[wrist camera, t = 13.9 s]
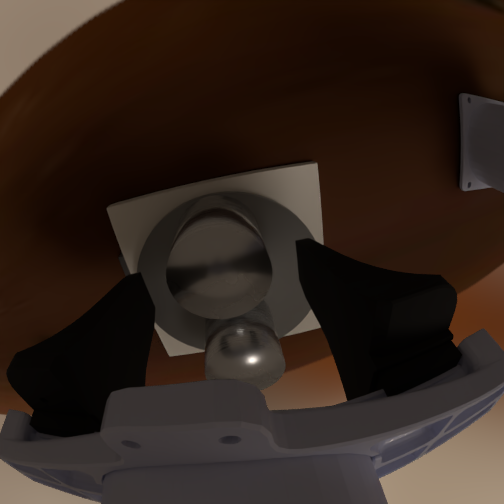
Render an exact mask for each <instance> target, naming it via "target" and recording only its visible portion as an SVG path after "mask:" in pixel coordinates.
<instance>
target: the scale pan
mask: <svg viewBox="0 0 504 504" xmlns="http://www.w3.org/2000/svg"><path fill="white" fill-rule="evenodd" d="M213 195H222V196H228V197H232V198H234V199H237V200H238V201H240V202H242V203H243V204H244V205H246V206H247V207H248V208H249V210H250V211H251V212H252V214H253V215H254V217H255V220H256V223H257V225H258V228H259V231H260V233H261V236H262V239H263V241H264V244H265V247H266V250H267V252H268V255H269V258H270V261H271V264H272V271H273V275H272V282H271V286H270V288H269V291H268V293H267V294H266V296H265V297H264V299H263V300H264V301H265V302H266V303H267V304H268V306H269V308H270V310H271V313H272V317H273V321H274V324H275V328H276V332H277V335H278V339H280V338H281V337H283V336H285V335H286V334H288V333H289V332H290V331H292V330H293V329H294V328H295V327H296V326H297V325H298V324H300V323H301V321H302V320H303V319H304V318H305V317H306V316H307V314H308V313H309V311H310V310H311V307H310V305H309V303H308V301H307V300H306V298H305V295H304V292H303V290H302V287H301V284H300V281H299V274H298V264H297V253H296V243H295V241H296V240H301V239H306V238H310V239H313V240H315V239H314V237H313V235H312V234H311V232H310V231H309V229H308V228H307V227H306V225H305V224H304V223H303V222H302V221H301V220H300V219H299V218H298V216H297V215H295V214H294V213H293V212H292V211H290V210H289V209H288V208H286V207H285V206H283V205H281V204H280V203H278V202H276V201H274V200H272V199H269V198H267V197H264V196H261V195H257V194H253V193H247V192H239V191H224V192H216V193H210V194H206V195H202V196H199V197H196V198H193V199H191V200H189V201H187V202H184V203H182V204H181V205H179V206H178V207H176V208H174V209H173V210H171V211H170V212H169V213H168V214H167V215H165V216H164V217H163V218H162V219H161V220H160V221H159V222H158V223H157V225H156V226H155V227H154V228H153V230H152V231H151V233H150V234H149V236H148V237H147V239H146V241H145V244H144V246H143V248H142V250H141V253H140V256H139V260H138V265H137V273H138V272H141V274H142V277H143V279H144V282H145V284H146V287H147V289H148V291H149V294H150V296H151V298H152V301H153V303H154V305H155V308H156V309H155V323H156V324H157V325H158V326H159V327H160V328H161V329H162V330H164V331H165V332H166V333H167V334H168V335H170V336H172V337H173V338H175V339H176V340H178V341H180V342H182V343H184V344H186V345H189V346H192V347H195V348H198V349H202V350H205V318H204V317H201V316H198V315H195V314H193V313H191V312H189V311H188V310H186V309H185V308H183V307H182V306H181V305H180V304H179V303H178V302H177V301H176V300H175V299H174V297H173V296H172V294H171V292H170V290H169V288H168V285H167V280H166V267H167V263H168V259H169V255H170V252H171V248H172V245H173V242H174V238H175V235H176V232H177V228H178V225H179V222H180V219H181V217H182V215H183V213H184V212H185V211H186V209H187V208H188V207H189V206H190V205H192V204H193V203H194V202H196V201H198V200H199V199H202V198H204V197H208V196H213Z"/></svg>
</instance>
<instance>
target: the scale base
mask: <svg viewBox="0 0 504 504" xmlns="http://www.w3.org/2000/svg"><path fill="white" fill-rule="evenodd" d="M224 191H239V192H247V193H253V194H257V195H261V196H264V197H267V198H269V199H272V200H274V201H276V202H278V203H280V204H281V205H283V206H285V207H286V208H288V209H289V210H290V211H292V212H293V213H294V214H295V215H297V216H298V218H299V219H300V220H301V221H302V222H303V223H304V224H305V225H306V227H307V228H308V229H309V231H310V232H311V234H312V235H313V237H314V239H315V241H317V242H319V243H320V244H322V245H323V229H322V213H321V200H320V188H319V177H318V166H317V163H316V162H314V161H311V162H304V163H297V164H290V165H284V166H278V167H272V168H266V169H260V170H254V171H249V172H244V173H238V174H233V175H228V176H223V177H218V178H214V179H209V180H204V181H200V182H195V183H191V184H187V185H182V186H178V187H174V188H170V189H166V190H162V191H158V192H154V193H150V194H146V195H143V196H139V197H135V198H132V199H128V200H124V201H121V202H117V203H114V204H111V205H109V206H108V207H107V208H106V209H107V212H108V215H109V218H110V221H111V224H112V227H113V229H114V232H115V235H116V238H117V240H118V243H119V246H120V248H121V251H122V253H121V254H120V256H119V257H118V258H119V261H120V263H121V266H122V268H123V270H124V273H125V275H126V276H127V275H129V274H133V273H137V265H138V260H139V256H140V253H141V250H142V248H143V246H144V244H145V241H146V239H147V237H148V236H149V234H150V233H151V231H152V230H153V228H154V227H155V226H156V225H157V223H158V222H159V221H160V220H161V219H162V218H163V217H164V216H165V215H167V214H168V213H169V212H170V211H171V210H173V209H174V208H176V207H178V206H179V205H181V204H182V203H184V202H187V201H189V200H191V199H193V198H196V197H199V196H202V195H206V194H210V193H216V192H224ZM154 327H155V329H156V331H157V333H158V335H159V337H160V339H161V341H162V343H163V345H164V347H165V349H166V350H167V352H168V354H169V356H177V355H184V354H191V353H198V352H204V351H205V350H202V349H198V348H195V347H192V346H189V345H186V344H184V343H182V342H180V341H178V340H176V339H175V338H173V337H172V336H170V335H168V334H167V333H166V332H165V331H164V330H162V329H161V328H160V327H159V326H158V325H157V324H156V323H155V325H154ZM317 328H321V326H320V324H319V322H318V320H317V319H316V317H315V315H314V313H313V311H312V309H311V310H310V311H309V313H308V314H307V316H306V317H305V318H304V319H303V320H302V321H301V323H300V324H298V325H297V326H296V327H295V328H294V329H293V330H292V331H290V332H289V333H288V334H286V335H285V336H288V335H292V334H296V333H300V332H305V331H309V330H313V329H317Z"/></svg>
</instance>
